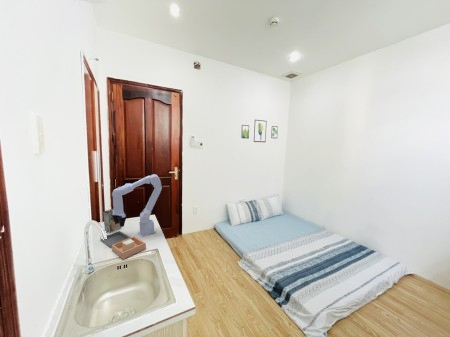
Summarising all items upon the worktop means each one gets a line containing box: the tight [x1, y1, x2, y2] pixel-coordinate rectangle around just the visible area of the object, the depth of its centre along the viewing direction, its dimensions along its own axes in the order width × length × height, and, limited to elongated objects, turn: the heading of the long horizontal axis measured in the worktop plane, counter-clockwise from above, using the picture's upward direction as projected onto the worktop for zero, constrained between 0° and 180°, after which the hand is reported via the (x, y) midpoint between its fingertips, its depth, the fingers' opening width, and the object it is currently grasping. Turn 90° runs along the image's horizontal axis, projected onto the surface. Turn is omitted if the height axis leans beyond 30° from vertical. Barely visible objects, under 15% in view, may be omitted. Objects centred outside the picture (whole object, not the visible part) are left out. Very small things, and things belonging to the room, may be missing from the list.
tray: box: [99, 230, 132, 249], centre depth 128 cm, size 13×16×2 cm
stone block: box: [122, 239, 135, 251], centre depth 117 cm, size 5×5×5 cm
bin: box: [111, 236, 147, 260], centre depth 118 cm, size 14×14×4 cm
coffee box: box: [102, 208, 122, 234], centre depth 143 cm, size 9×6×16 cm
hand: (119, 225), depth 132 cm, fingers open, 7 cm apart
